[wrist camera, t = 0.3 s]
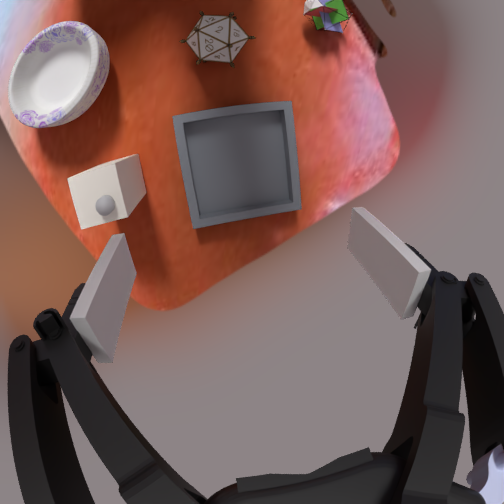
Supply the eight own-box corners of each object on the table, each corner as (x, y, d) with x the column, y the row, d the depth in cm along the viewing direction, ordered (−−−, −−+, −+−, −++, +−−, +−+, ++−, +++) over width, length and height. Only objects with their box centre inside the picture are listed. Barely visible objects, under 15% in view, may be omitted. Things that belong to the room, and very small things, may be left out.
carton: (101, 164, 34) (63, 180, 23) (138, 153, 35) (112, 164, 23) (110, 201, 37) (78, 232, 25) (146, 192, 38) (125, 220, 26)
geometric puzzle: (348, 1, 27) (340, -17, 21) (359, 34, 30) (355, 21, 24) (307, 7, 30) (292, -8, 24) (317, 40, 33) (305, 29, 27)
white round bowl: (40, 141, 30) (12, 146, 23) (30, 61, 23) (4, 53, 16) (123, 105, 31) (106, 99, 24) (111, 21, 25) (96, 2, 18)
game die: (223, 60, 34) (252, 81, 30) (170, 56, 30) (188, 77, 26) (240, 11, 28) (274, 22, 23) (184, 2, 23) (207, 8, 19)
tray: (174, 117, 34) (172, 116, 31) (284, 102, 36) (291, 100, 33) (193, 222, 41) (193, 229, 38) (294, 203, 43) (301, 209, 40)
